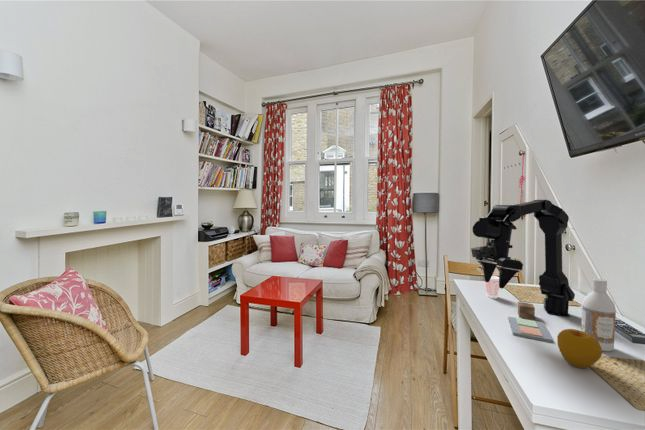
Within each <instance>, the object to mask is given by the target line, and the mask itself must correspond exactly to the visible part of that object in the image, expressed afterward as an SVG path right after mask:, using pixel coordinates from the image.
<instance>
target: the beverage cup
mask: <svg viewBox="0 0 645 430" xmlns="http://www.w3.org/2000/svg"><path fill="white" fill-rule="evenodd" d="M484 282H485V281H484ZM484 284H485V286H484V287H485V296H486V297H488V298H490V299H497V298H499V290H500V288H499V276H497V275H494V274H493V275H492V277H491V279H490V281H489V282H485V283H484Z"/></svg>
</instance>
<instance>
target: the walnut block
mask: <svg viewBox="0 0 645 430" xmlns="http://www.w3.org/2000/svg"><path fill="white" fill-rule="evenodd" d="M535 310H536V307H535V306H534V304H533V303H530V302H524V301H523V302H522V301H518V302H517V315H518V318H520V319H526V320H532V321H535V315H536V314H535V313H536V311H535Z"/></svg>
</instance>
